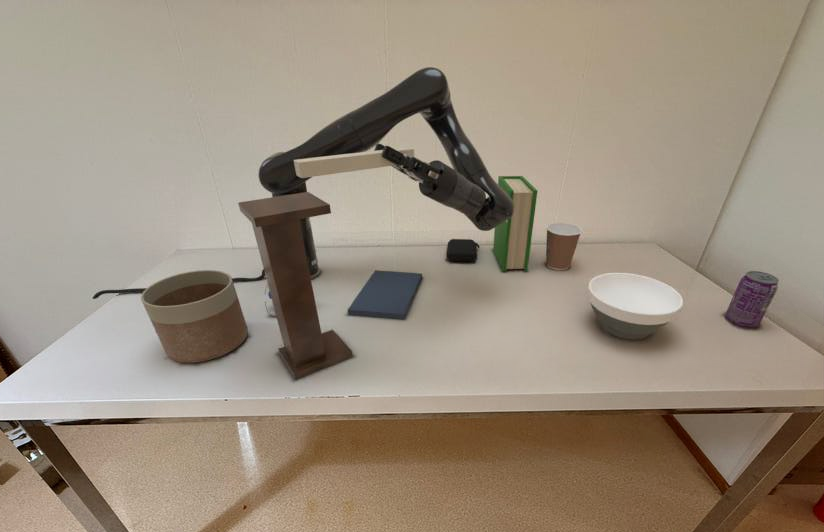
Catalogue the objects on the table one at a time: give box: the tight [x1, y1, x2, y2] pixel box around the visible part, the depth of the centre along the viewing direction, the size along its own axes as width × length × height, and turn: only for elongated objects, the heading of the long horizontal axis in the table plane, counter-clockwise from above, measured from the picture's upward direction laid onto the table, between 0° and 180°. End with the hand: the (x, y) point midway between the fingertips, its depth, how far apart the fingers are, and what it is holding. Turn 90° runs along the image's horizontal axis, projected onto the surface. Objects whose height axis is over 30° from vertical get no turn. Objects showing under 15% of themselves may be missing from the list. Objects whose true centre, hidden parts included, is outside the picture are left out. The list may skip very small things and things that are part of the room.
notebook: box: [347, 269, 423, 320], centre depth 104 cm, size 14×22×2 cm, turn 172°
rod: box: [294, 146, 415, 178], centre depth 70 cm, size 22×2×2 cm, turn 127°
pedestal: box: [237, 191, 354, 381], centre depth 73 cm, size 12×10×32 cm
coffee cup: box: [545, 222, 583, 271], centre depth 118 cm, size 10×10×12 cm
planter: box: [140, 269, 249, 363], centre depth 82 cm, size 16×16×14 cm
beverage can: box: [724, 270, 780, 328], centre depth 91 cm, size 7×7×12 cm
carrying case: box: [445, 238, 480, 263], centre depth 127 cm, size 11×3×15 cm
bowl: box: [587, 272, 684, 340], centre depth 89 cm, size 20×20×10 cm
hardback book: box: [492, 175, 538, 273], centre depth 118 cm, size 18×7×24 cm, turn 4°
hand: (380, 149), depth 71 cm, fingers closed on rod, 2 cm apart
